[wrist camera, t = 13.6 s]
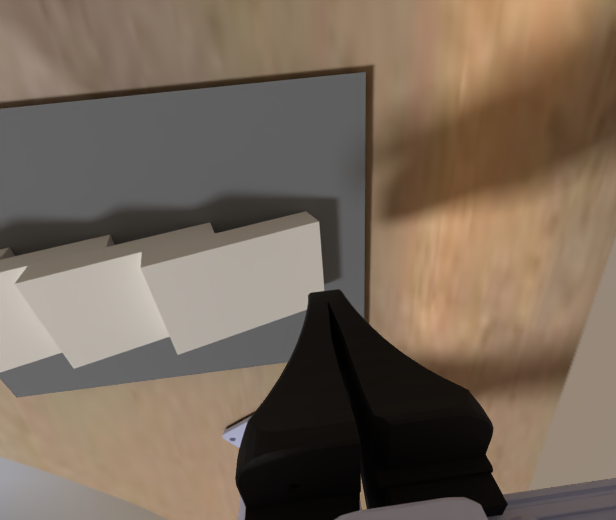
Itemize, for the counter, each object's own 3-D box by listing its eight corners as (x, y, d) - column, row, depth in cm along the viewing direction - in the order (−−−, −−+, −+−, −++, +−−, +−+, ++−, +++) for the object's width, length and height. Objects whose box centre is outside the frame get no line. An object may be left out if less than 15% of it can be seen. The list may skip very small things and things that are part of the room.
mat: (363, 72, 14) (366, 71, 13) (362, 347, 22) (364, 352, 22) (-206, 129, 13) (-220, 130, 13) (20, 392, 21) (16, 397, 21)
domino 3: (319, 221, 15) (140, 267, 13) (325, 303, 17) (177, 355, 15) (306, 211, 16) (141, 251, 14) (313, 288, 19) (175, 334, 16)
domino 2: (214, 233, 15) (14, 283, 12) (236, 314, 17) (73, 368, 15) (209, 222, 16) (27, 266, 14) (231, 298, 19) (80, 346, 16)
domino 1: (106, 246, 15) (-119, 301, 12) (144, 326, 17) (-36, 384, 15) (109, 234, 16) (-93, 281, 14) (145, 309, 18) (-21, 360, 16)
